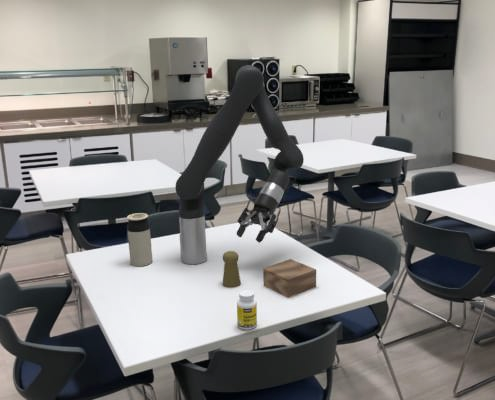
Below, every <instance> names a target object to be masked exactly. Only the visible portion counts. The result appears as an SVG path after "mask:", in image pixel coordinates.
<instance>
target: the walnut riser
mask: <svg viewBox="0 0 495 400" xmlns="http://www.w3.org/2000/svg"><path fill="white" fill-rule="evenodd" d="M262 271H263V273H262V274H263V277H262V279H263V286H264V287H266V288H268V289H270V290H272V291H273V292H276V293H277V294H280V295H282V296H284V297H286V298H288V299H289V298H292V297H294V296H296V295H300V294H302V293H304V292H307V291H309V290H311V289H314V288H316V287H317V269H316V268H314V267H311V266H310V265H309V266H308V265H306V264H304V263H301V262H299V261H296V260H294V259H292V258H290V259H285V260H283V261H281V262H278V263H275V264H272V265H269V266H266V267H263V270H262Z"/></svg>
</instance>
